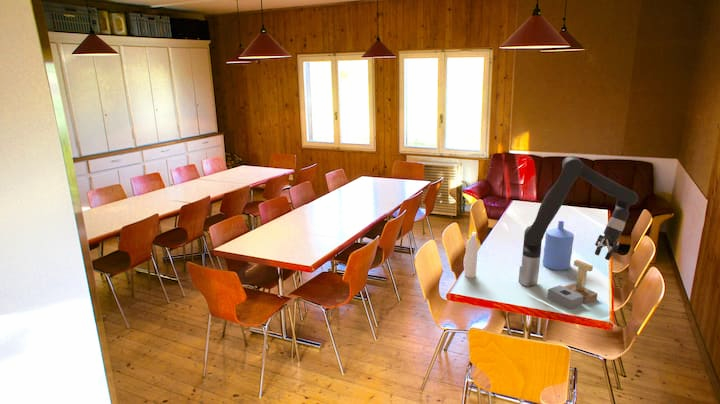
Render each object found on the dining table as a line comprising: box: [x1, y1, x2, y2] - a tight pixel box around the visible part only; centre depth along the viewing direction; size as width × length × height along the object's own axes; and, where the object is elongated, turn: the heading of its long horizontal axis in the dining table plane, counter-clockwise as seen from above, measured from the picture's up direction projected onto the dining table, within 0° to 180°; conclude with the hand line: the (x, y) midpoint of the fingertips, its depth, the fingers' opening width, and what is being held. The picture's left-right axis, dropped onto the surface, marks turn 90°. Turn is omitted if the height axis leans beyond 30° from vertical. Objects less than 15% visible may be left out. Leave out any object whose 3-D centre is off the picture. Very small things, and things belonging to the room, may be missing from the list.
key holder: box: [547, 284, 584, 310], centre depth 244 cm, size 14×9×6 cm, turn 30°
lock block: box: [563, 282, 598, 304], centre depth 250 cm, size 14×9×4 cm, turn 30°
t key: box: [573, 259, 594, 292], centre depth 247 cm, size 9×3×18 cm, turn 30°
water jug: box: [542, 220, 575, 271], centre depth 286 cm, size 16×16×28 cm
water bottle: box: [464, 231, 479, 279], centre depth 275 cm, size 9×6×25 cm
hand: (601, 257), depth 244 cm, fingers open, 8 cm apart
